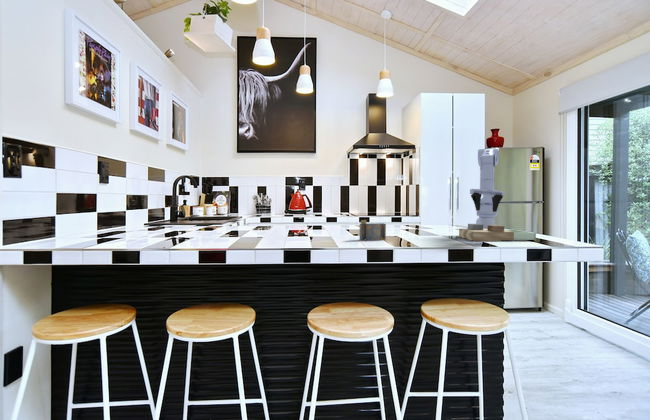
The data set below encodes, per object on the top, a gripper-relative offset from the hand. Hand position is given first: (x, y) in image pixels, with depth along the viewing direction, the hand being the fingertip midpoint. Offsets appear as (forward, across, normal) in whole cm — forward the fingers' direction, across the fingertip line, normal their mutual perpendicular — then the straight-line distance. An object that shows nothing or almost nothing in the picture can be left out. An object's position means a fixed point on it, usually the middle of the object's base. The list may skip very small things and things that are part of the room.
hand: (486, 211), depth 152 cm
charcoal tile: (+8, +1, +11) cm, 14 cm away
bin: (+11, +18, +8) cm, 23 cm away
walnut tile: (+8, +7, +4) cm, 11 cm away
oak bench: (+12, +4, +8) cm, 15 cm away
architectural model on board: (+17, -49, +6) cm, 52 cm away
